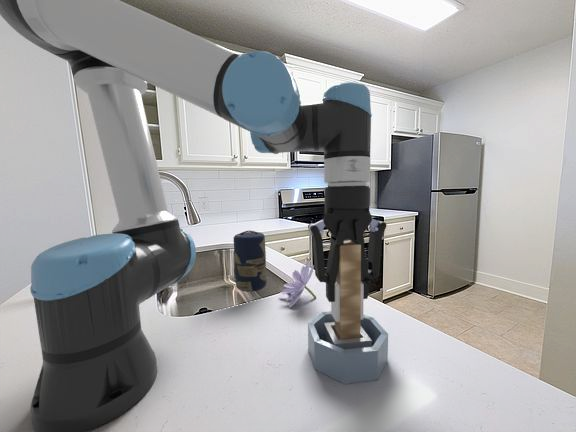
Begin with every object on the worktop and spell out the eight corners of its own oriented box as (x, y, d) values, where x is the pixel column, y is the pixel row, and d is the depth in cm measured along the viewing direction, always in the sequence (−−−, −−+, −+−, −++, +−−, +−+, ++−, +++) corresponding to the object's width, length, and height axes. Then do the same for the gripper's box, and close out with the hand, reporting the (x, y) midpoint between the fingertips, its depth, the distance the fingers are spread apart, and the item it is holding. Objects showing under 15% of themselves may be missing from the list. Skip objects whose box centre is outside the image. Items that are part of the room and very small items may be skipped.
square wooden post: (341, 347, 42) (340, 245, 40) (334, 335, 46) (334, 241, 44) (360, 345, 43) (360, 244, 41) (352, 333, 46) (352, 240, 44)
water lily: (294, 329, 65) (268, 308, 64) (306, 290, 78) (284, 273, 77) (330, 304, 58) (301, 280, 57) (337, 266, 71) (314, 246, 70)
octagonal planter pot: (320, 387, 38) (320, 356, 37) (304, 336, 50) (304, 313, 50) (400, 377, 39) (400, 348, 39) (364, 330, 52) (365, 308, 51)
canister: (261, 295, 71) (259, 233, 69) (230, 293, 72) (227, 233, 70) (270, 282, 80) (268, 228, 78) (242, 281, 82) (240, 227, 80)
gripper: (302, 185, 37) (305, 333, 39) (406, 183, 39) (402, 323, 41) (294, 186, 44) (297, 310, 47) (382, 184, 46) (380, 303, 49)
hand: (346, 316), depth 44 cm, fingers closed on square wooden post, 3 cm apart
